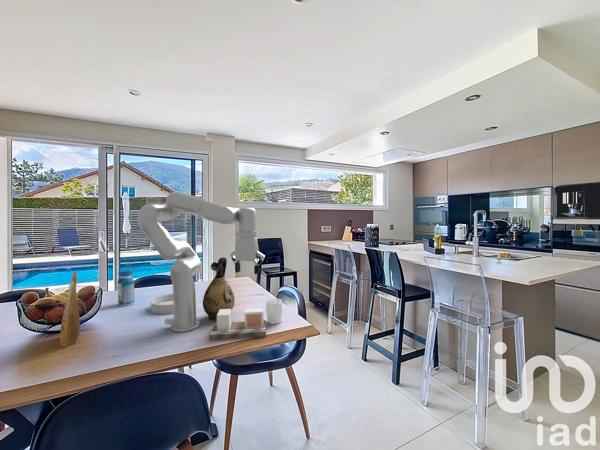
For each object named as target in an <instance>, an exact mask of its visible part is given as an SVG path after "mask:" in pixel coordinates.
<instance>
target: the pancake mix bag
mask: <svg viewBox="0 0 600 450" xmlns="http://www.w3.org/2000/svg"><path fill="white" fill-rule="evenodd" d="M77 283H78V273H77V272H76V271H75V270H73V272H72V276H71V279H70V283H69V286H68V294H67V298H66V301H65V305H64V310H63V315H62V319H61V324H60V331H59V332H60V334H59V344H60V347H61V348H68V347H71V346H73V345H75V344H76V342H77V340H78V337H79V335H80V325H81V324H80V322H81V321H80V320H81V319H80V306H79V302H78V295H77Z"/></svg>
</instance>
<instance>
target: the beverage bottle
mask: <svg viewBox="0 0 600 450" xmlns="http://www.w3.org/2000/svg"><path fill="white" fill-rule="evenodd" d="M132 275H133V269H130V268H129V269H128V268H127V269H126V268H125V269H121V270H120V269H119V270H118V277H119V278H118V279H117V287H116V288H117V300H118V301H117V302H118V303H117V305H118V306H120V307H126V306H127V305H128V306H131V304H132V305H133V304H134V305H135V301H136V300H135V283H134V281H135V280H134V278H133V277H132Z"/></svg>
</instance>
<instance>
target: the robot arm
mask: <svg viewBox="0 0 600 450" xmlns="http://www.w3.org/2000/svg"><path fill="white" fill-rule="evenodd" d="M182 214H188V215H191V216H195V217H199V218H202V219H204V220H206V221H207V220H208V221H211V222H215V223H218V224H223V225H232V224H238V231H236V236H238V237H237V238H236V241H235V247H234V251H232V252H231V253H230V254H229V255H230V258H231V261H233V264H234V270H235V271H234V272H235V273H237V274H238V273H239V272H241V261H242V262H253V263H254V268H253V270H254V272H253V274H254V275H258V274H259V273H260V266H261V264H262V263H263V262H264V260H265V257H266V255H265V254H263V253H262V252H260V250H259V243H258V238H257V234H256V232H257V231H256V230H257V227H256V225H257V220H256V219H257V212H256V208H254V207H241V208H240V207H233V206H224V205H220V204H216V203H213V202H210V201H207V199H206V198H203V197H199V196H195V195H192V194H189V193H187V192H184V191H183V192H182V191H172V192H169V194H168V195H167V196H166V198H165V202H164V203H155V202H154V203H153V202H152V203H146V204H144V205H143V206H141V208H140V209H139V211H138V214H137V223H138V226H139V228H140V230H141V232H143V234H144V235H145V236H146V237H147V239H148V240H149V242H150V243H151V245H152V246H153V247H154V249H155V250H156V251H157V252H158V255H160V256H161V258H162V259H163V260H164V261H174V260H176V261H174V262H173V264H172V265H171V267H170V270H169V271H170V278H171V284H172V294H173V304H174V313H173V317H171V318H165V319H164V324H165V325H170V331H172V332H175V333H183V332H184V333H185V332H190V331H193V330H196V329H197V328H199V327H200V325H201V323H200V321H199V320H198V319H197V304H196V301H197V300H196V298H197V297H196V285H195V281H194V277H195V276H196V275H198V274H199V273H200V272H201V270H202V269H203V268H202V267H203V263H202V261H201V259H200V257H199V256H198V255H197V253H196V252H195V251H194V249H193V248H192V246H191V245H190V244H189V243H188V242H187V241H186V240H184V239H182V238H178V237H177V238H174V237H173V236H172V235H171V234H170V232H169V231H168V230H167V228H166V227H164V226H163V225H162V224H161V223H160V222H168V221H170V220H173V219H174V218H176V217H178V216H180V215H182ZM259 257H260V259H259Z"/></svg>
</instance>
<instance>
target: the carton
mask: <svg viewBox="0 0 600 450" xmlns="http://www.w3.org/2000/svg"><path fill="white" fill-rule="evenodd" d="M264 320H265V319H264V307H261V308H259V307H258V308H245V309H244V322H245V329H248V328H264Z"/></svg>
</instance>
